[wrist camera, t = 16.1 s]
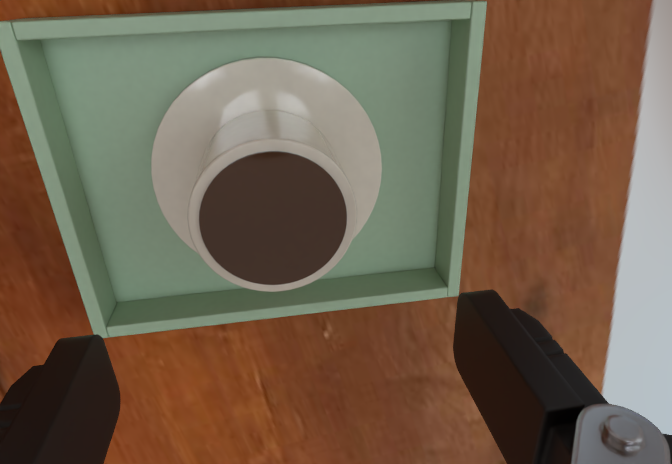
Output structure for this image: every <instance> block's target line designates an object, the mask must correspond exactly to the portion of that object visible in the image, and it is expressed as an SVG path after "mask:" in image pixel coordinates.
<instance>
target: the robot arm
mask: <svg viewBox="0 0 672 464" xmlns="http://www.w3.org/2000/svg"><path fill="white" fill-rule="evenodd" d="M453 351H454V358H455V362H456V366H457V369H458V371H459V373H460V375H461V377H462V379H463V381H464V383H465V385H466V386H467V388H468V390H469V392H470V394H471V396H472V398H473V400H474V402H475V404H476V405H477V407H478V409H479V411H480V413H481V415H482V417H483V419H484V421H485V422H486V424H487V426H488V428H489V430H490V432H491V434H492V436H493V438H494V440H495V441H496V443H497V445H498V447H499V449H500V451H501V453H502V455H503V457H504V459H505V460H506V462H507V464H672V435H667V434H662V433H661V432H660V430H659V429H658V428H657V427H656V426H655V425H654V424H652V423H651V422H650V421H649V420H647V419H646V418H645V417H643V416H641V415H640V414H638V413H636V412H634V411H632V410H629V409H627V408H624V407H621V406H617V405H612V404H609V403H608V402H607V401H606V400H605V399H604V397H603V396H602V395H601V394H600V393H599V392H598V390H597V389H596V388H595V387H594V386H593V384H592V383H591V382H590V381H589V380H588V379H587V377H586V376H585V375H584V374H583V373H582V371H581V370H580V369H579V368H578V367H577V366H576V364H575V363H574V362H573V361H572V360H571V358H570V357H569V356H568V355H567V354H564V352H563V349H562V348H561V347H560V346H559V344H558V343H557V342H556V341H555V340H553V339H552V336H551V335H550V334H549V333H548V331H547V330H546V329H545V328H544V327H543V325H542V324H541V323H540V322H539V321H538V320H536V319H535V318H533V317H532V316H530V315H528V314H527V313H525V312H524V311H522V310H521V309H519V308H517V309H509V307H508V306H507V305H506V304H505V302H504V301H503V300H502V298H501V297H500V296H499V295H498V293H497V292H496V291H494V290H484V291H475V292H467V293H461V294H460V295H459V297H458V302H457V313H456V323H455V333H454V343H453ZM119 411H120V391H119V386H118V383H117V380H116V377H115V374H114V370H113V367H112V364H111V361H110V358H109V355H108V352H107V349H106V346H105V343H104V340H103V338H102V337H101V336H100V335H98V334H96V335H87V336H79V337H70V338H62V339H59V340H58V341H57V343H56V344H55V346H54V348H53V349H52V351H51V353H50V355H49V357H48V358H47V360H46V362H45V364H44V365H39V366H33V367H32V368H31V369H29V370H28V371H27V372H26V373H25V374H24V375H23V376H22V377H21V378H19V379H18V380H17V381H16V382H15V383H14V384H13V385H12V386H11V387H10V389H9V390H8V392H7V393H6V395H5V397H4V398H3V400H2V402H1V403H0V464H103V463H104V460H105V457H106V454H107V451H108V448H109V444H110V441H111V438H112V435H113V432H114V429H115V426H116V423H117V420H118V416H119Z"/></svg>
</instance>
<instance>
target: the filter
mask: <svg viewBox="0 0 672 464" xmlns="http://www.w3.org/2000/svg"><path fill="white" fill-rule="evenodd" d="M381 174H382V161H381V152H380V146H379V141H378V138H377V135H376V132H375V129H374V127H373V125H372V123H371V121H370V119H369V117H368V115H367V113H366V112H365V110H364V109H363V107H362V106H361V104H360V103H359V102H358V101H357V99H356V98H355V97H354V96H353V95H352V94H351V93H350V92H349V91H348V90H347V89H346V88H345V87H344V86H343V85H342V84H341V83H339V82H338V81H337V80H336V79H335V78H333V77H331V76H330V75H328V74H327V73H325V72H323V71H322V70H320V69H317V68H315V67H313V66H311V65H309V64H306V63H303V62H300V61H296V60H293V59H288V58H281V57H270V56H257V57H249V58H242V59H238V60H234V61H231V62H227V63H224V64H222V65H220V66H217V67H215V68H213V69H211V70H209V71H207V72H206V73H204V74H202V75H201V76H199V77H198V78H196V79H195V80H194V81H193V82H191V83H190V84H189V85H188V86H187V87H185V88H184V90H183V91H182V92H181V93H180V94H179V95H178V96H177V97H176V98H175V100H174V101H173V102H172V104H171V105H170V107H169V108H168V110H167V111H166V113H165V114H164V116H163V119H162V121H161V123H160V125H159V127H158V129H157V133H156V136H155V139H154V143H153V149H152V156H151V175H152V182H153V188H154V192H155V195H156V199H157V202H158V204H159V206H160V209H161V211H162V213H163V215H164V217H165V218H166V220H167V222H168V223H169V225H170V226H171V228H172V229H173V230H174V231H175V233H176V234H177V235H178V236H179V237H180V239H181V240H183V241H184V242H185V243H186V244H187V245H188V246H189V247H190V248H191V249H193V250H194V251H195V252H197V253H198V254H199V255H200V257H201V258H202V259H203V260H204V262H205V263H206V264H207V265H208V266H209V267H210V268H211V269H212V270H213V271H214V272H215V273H217V274H218V275H220V276H221V277H222V278H224V279H226V280H228V281H229V282H231V283H233V284H236V285H238V286H241V287H244V288H247V289H251V290H257V291H266V292H277V291H286V290H292V289H295V288H299V287H302V286H305V285H307V284H310V283H312V282H314V281H315V280H317V279H319V278H321V277H322V276H323V275H325V274H326V273H328V272H329V271H330V270H331V269H332V268H333V267H334V266H335V265H336V264H337V263H338V262H339V261H340V260H341V259H342V257H343V256H344V254H345V253H346V251H347V249H348V247H349V245H350V243H351V241H352V240H353V239H354V238H355V236H356V235H357V234H358V233H359V232H360V230H361V229H362V228H363V226H364V225H365V223H366V222H367V220H368V218H369V216H370V214H371V212H372V210H373V208H374V205H375V203H376V200H377V197H378V193H379V189H380V184H381Z"/></svg>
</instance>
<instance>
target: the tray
mask: <svg viewBox="0 0 672 464" xmlns="http://www.w3.org/2000/svg"><path fill="white" fill-rule="evenodd" d="M486 7H487V2H486V1H476V0H444V1H420V2H397V3H373V4H350V5H326V6H303V7H279V8H256V9H232V10H209V11H185V12H161V13H138V14H114V15H91V16H67V17H44V18H23V19H15V20H6V21H0V50H1V53H2V57H3V60H4V63H5V66H6V69H7V72H8V75H9V78H10V81H11V84H12V87H13V90H14V93H15V96H16V99H17V102H18V105H19V108H20V111H21V114H22V117H23V120H24V123H25V127H26V130H27V133H28V136H29V139H30V142H31V145H32V148H33V151H34V154H35V157H36V160H37V163H38V166H39V169H40V172H41V175H42V178H43V181H44V184H45V187H46V190H47V193H48V197H49V200H50V203H51V206H52V209H53V212H54V215H55V218H56V221H57V224H58V227H59V230H60V233H61V236H62V239H63V242H64V245H65V248H66V251H67V254H68V257H69V260H70V263H71V266H72V270H73V273H74V276H75V279H76V282H77V285H78V288H79V291H80V294H81V297H82V300H83V303H84V306H85V309H86V312H87V315H88V318H89V321H90V324H91V327H92V330H93V333H94V335H96V334H98V335H100V336H101V337H102V338H108V337H116V336H125V335H133V334H142V333H150V332H158V331H167V330H175V329H184V328H192V327H201V326H209V325H217V324H226V323H234V322H243V321H251V320H260V319H268V318H276V317H285V316H293V315H302V314H310V313H319V312H327V311H335V310H344V309H352V308H361V307H369V306H377V305H386V304H394V303H403V302H411V301H420V300H428V299H436V298H445V297H453V296H458V295H459V285H460V274H461V264H462V254H463V243H464V233H465V223H466V212H467V202H468V192H469V182H470V171H471V161H472V151H473V140H474V130H475V120H476V110H477V99H478V89H479V79H480V68H481V58H482V48H483V38H484V27H485V17H486ZM257 56H270V57H281V58H288V59H293V60H296V61H300V62H303V63H306V64H309V65H311V66H313V67H315V68H317V69H320V70H322V71H323V72H325V73H327V74H328V75H330V76H331V77H333V78H335V79H336V80H337V81H338V82H339V83H341V84H342V85H343V86H344V87H345V88H346V89H347V90H348V91H349V92H350V93H351V94H352V95H353V96H354V97H355V98H356V99H357V101H358V102H359V103H360V104H361V106H362V107H363V109H364V110H365V112H366V113H367V115H368V117H369V119H370V121H371V123H372V125H373V127H374V129H375V132H376V135H377V138H378V141H379V146H380V152H381V161H382V174H381V184H380V189H379V193H378V197H377V200H376V203H375V205H374V208H373V210H372V212H371V214H370V216H369V218H368V220H367V222H366V223H365V225H364V226H363V228H362V229H361V230H360V232H359V233H358V234H357V235H356V236H355V238H354V239H353V240H352V241H351V243H350V245H349V247H348V249H347V251H346V253H345V254H344V256H343V257H342V259H341V260H340V261H339V262H338V263H337V264H336V265H335V266H334V267H333V268H332V269H331V270H330V271H329V272H328V273H326V274H325V275H323V276H322V277H321V278H319V279H317V280H315V281H314V282H312V283H310V284H307V285H305V286H302V287H299V288H295V289H292V290H286V291H277V292H266V291H257V290H251V289H247V288H244V287H241V286H238V285H236V284H233V283H231V282H229V281H228V280H226V279H224V278H222V277H221V276H220V275H218V274H217V273H215V272H214V271H213V270H212V269H211V268H210V267H209V266H208V265H207V264H206V263H205V262H204V260H203V259H202V258H201V257H200V255H199V254H198V253H197V252H195V251H194V250H193V249H191V248H190V247H189V246H188V245H187V244H186V243H185V242H184V241H183V240H181V239H180V237H179V236H178V235H177V234H176V233H175V231H174V230H173V229H172V228H171V226H170V225H169V223H168V222H167V220H166V218H165V217H164V215H163V213H162V211H161V209H160V206H159V204H158V202H157V199H156V195H155V192H154V188H153V182H152V175H151V156H152V149H153V143H154V139H155V136H156V133H157V129H158V127H159V125H160V123H161V121H162V119H163V116H164V114H165V113H166V111H167V110H168V108H169V107H170V105H171V104H172V102H173V101H174V100H175V98H176V97H177V96H178V95H179V94H180V93H181V92H182V91H183V90H184V88H185V87H187V86H188V85H189V84H190V83H191V82H193V81H194V80H195V79H196V78H198V77H199V76H201V75H202V74H204V73H206V72H207V71H209V70H211V69H213V68H215V67H217V66H220V65H222V64H224V63H227V62H231V61H234V60H238V59H242V58H249V57H257Z"/></svg>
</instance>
